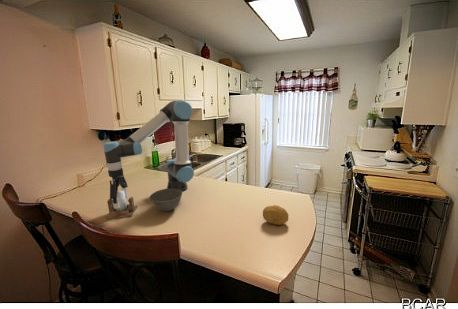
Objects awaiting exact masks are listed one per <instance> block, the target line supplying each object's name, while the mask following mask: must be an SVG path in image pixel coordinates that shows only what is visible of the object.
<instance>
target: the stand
mask: <svg viewBox="0 0 458 309" xmlns="http://www.w3.org/2000/svg"><path fill="white" fill-rule="evenodd" d="M127 200H128V204H127V203H126V204H127V210H126V211H117V209H114V204H113V199H110V198H109V199H107V208H108V212H109V213H108V214H107V215H106V216H105V219H106V220H109V219H118V218H119V219H121V218H131V217H133V215H134V213H135V212H136V210H137V209H138V205H135V201H134V197H133V196H130V197H129V198H128V199H127Z"/></svg>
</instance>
